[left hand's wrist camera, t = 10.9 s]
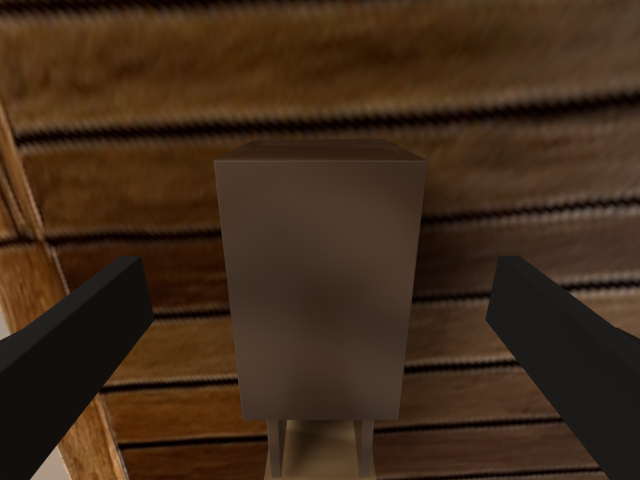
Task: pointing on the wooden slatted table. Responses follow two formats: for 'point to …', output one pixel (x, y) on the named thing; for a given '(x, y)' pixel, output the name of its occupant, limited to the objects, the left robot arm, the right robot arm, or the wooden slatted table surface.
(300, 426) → the drawer
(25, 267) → the wooden slatted table surface
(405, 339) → the cabinet
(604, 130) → the wooden slatted table surface
